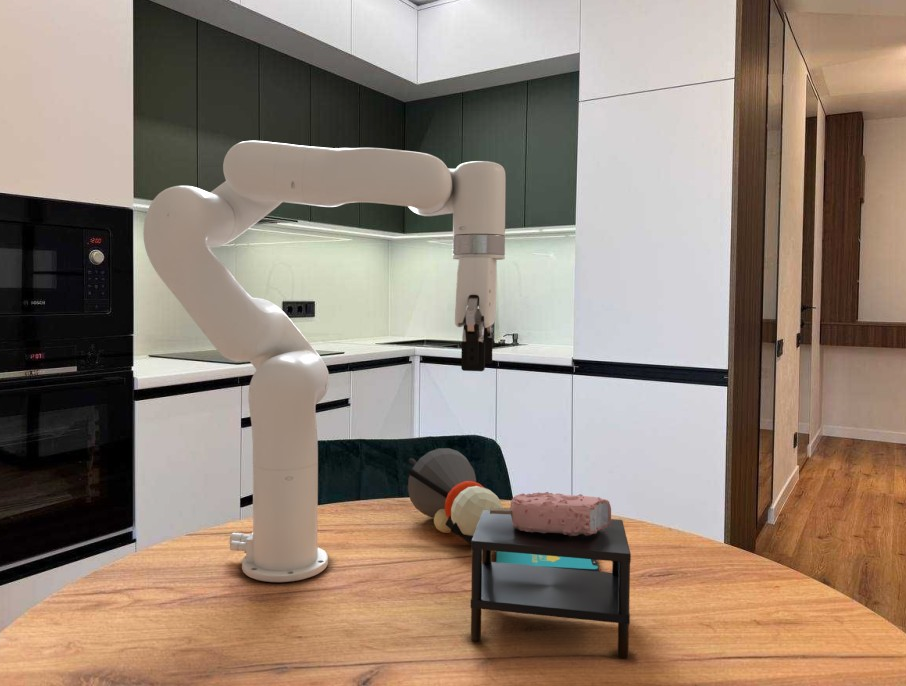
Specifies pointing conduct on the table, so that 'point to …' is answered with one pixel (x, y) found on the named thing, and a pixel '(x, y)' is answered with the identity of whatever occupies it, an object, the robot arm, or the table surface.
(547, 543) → the rack
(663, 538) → the table surface
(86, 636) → the table surface
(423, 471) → the toy
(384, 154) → the robot arm
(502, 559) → the smartphone
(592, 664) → the table surface
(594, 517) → the ice cream bar
